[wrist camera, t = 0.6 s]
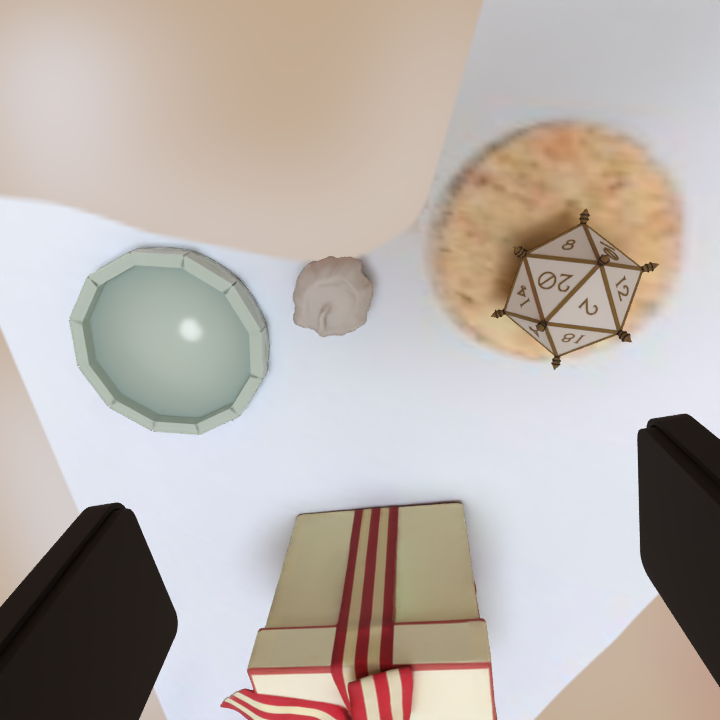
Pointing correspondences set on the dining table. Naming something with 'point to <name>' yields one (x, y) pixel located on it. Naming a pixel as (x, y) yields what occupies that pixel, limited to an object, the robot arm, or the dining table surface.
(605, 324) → the game die
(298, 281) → the garlic
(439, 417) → the dining table surface
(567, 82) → the dining table surface
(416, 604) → the gift box
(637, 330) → the dining table surface
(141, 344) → the plate
